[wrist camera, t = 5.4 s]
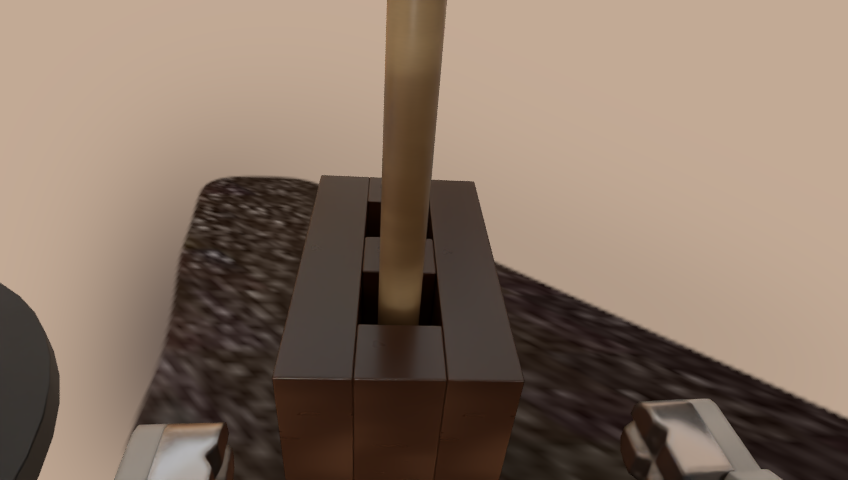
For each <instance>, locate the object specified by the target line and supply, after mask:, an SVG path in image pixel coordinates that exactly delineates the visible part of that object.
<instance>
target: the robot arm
mask: <svg viewBox="0 0 848 480" xmlns="http://www.w3.org/2000/svg"><path fill="white" fill-rule="evenodd" d="M631 415H632V417H633V419H634V421H632V422H631V423H629V424H628V425H627V426H625V427H624V430H623V432H622V435H621V453H622V457H623V461H624V463H625V466H626V468H627V470H628V473H629V474H630V475H632V476H633V477H634V478H635V479H636V480H783V479H781V478H780V477H778V476H777V475H775V474H774V473H773V472H771V471H770V470H768V469H760V467H759V466H758V464H757V463H756V461H755V460H754V459H753V457H752V456H751V454H750V453H749V451H748V450H747V448H746V447H745V445H744V444H743V443H742V441H741V440H740V438H739V437H738V435H737V434H736V432H735V431H734V429H733V428H732V427H731V425H730V424H729V422H728V421H727V419H726V418H725V416H724V415H723V413H722V412H721V411H720V409H719V408H718V406H717V405H716V404H715V403H714V402H713V401H711V400H710V399H692V400H683V399H678V400H663V401H647V402H639V403H637V404H636V405H634V408H633V410H632V412H631ZM228 435H229V432H228V428H227V424H226V422H222V423H185V424H152V425H138V427H137V428H136V429H135V431H134V432H133V433H132V435H131V438H130V440H129V443H128V445H127V448H126V450H125V453H124V456H123V458H122V461H121V463H120V466H119V468H118V471H117V474H116V476H115V479H114V480H233V477H234V455H233V450H232V448H231V447H230V446H228V445H227V440H228Z"/></svg>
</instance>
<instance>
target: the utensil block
mask: <svg viewBox="0 0 848 480" xmlns="http://www.w3.org/2000/svg"><path fill="white" fill-rule="evenodd" d="M381 193H382V178H374V177H370V178H369V177H350V176H326V175H322V176H321V179H320V183H319V187H318V191H317V195H316V199H315V204H314V208H313V212H312V216H311V220H310V224H309V228H308V232H307V236H306V241H305V245H304V249H303V253H302V257H301V261H300V265H299V269H298V273H297V278H296V282H295V286H294V290H293V294H292V298H291V302H290V306H289V310H288V315H287V319H286V323H285V327H284V331H283V335H282V339H281V343H280V347H279V351H278V356H277V360H276V364H275V368H274V372H273V376H272V380H273V388H274V395H275V403H276V411H277V418H278V426H279V433H280V441H281V449H282V456H283V464H284V472H285V479H286V480H499V477H500V473H501V470H502V466H503V462H504V458H505V454H506V450H507V446H508V442H509V439H510V435H511V431H512V427H513V423H514V419H515V415H516V412H517V408H518V404H519V400H520V396H521V392H522V388H523V385H524V377H523V373H522V369H521V365H520V361H519V357H518V353H517V349H516V345H515V342H514V338H513V334H512V330H511V326H510V322H509V318H508V314H507V310H506V306H505V302H504V298H503V294H502V290H501V286H500V282H499V278H498V274H497V270H496V266H495V262H494V259H493V255H492V251H491V247H490V243H489V239H488V235H487V231H486V227H485V223H484V219H483V215H482V211H481V207H480V203H479V199H478V195H477V192H476V187H475V183H474V182H470V181H447V180H446V181H445V180H431V189H430V200H429V212H428V223H427V235H426V246H425V257H424V269H423V280H422V292H421V303H420V315H419V326H414V325H378V296H379V262H380V227H381Z"/></svg>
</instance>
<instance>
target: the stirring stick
mask: <svg viewBox="0 0 848 480" xmlns="http://www.w3.org/2000/svg"><path fill="white" fill-rule="evenodd" d="M446 5H447V0H387V22H386V55H385V56H386V57H385V91H384V124H383V158H382V193H381V227H380V262H379V296H378V325H414V326H419V315H420V303H421V292H422V280H423V269H424V257H425V246H426V235H427V223H428V212H429V200H430V189H431V177H432V165H433V154H434V143H435V142H434V141H435V131H436V120H437V109H438V108H437V107H438V96H439V86H440V74H441V63H442V51H443V39H444V28H445V17H446Z"/></svg>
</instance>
